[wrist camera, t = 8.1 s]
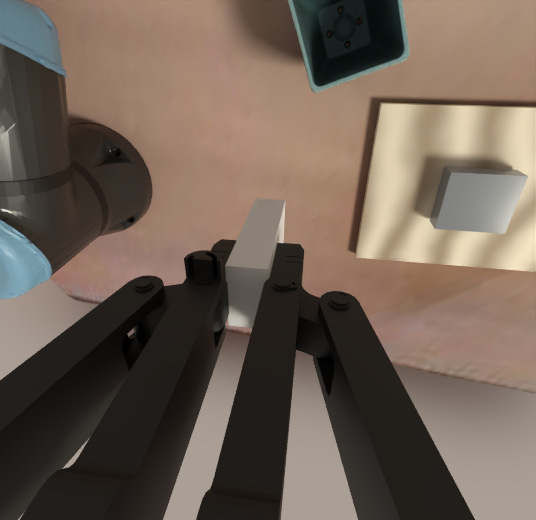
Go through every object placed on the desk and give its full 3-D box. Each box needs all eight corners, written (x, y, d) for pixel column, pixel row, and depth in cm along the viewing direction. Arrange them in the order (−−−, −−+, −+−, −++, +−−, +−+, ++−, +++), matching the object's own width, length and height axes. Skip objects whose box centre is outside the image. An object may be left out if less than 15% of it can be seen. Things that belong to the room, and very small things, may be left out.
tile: (434, 229, 42) (504, 233, 41) (451, 172, 38) (528, 176, 37) (428, 219, 44) (494, 223, 43) (443, 165, 41) (515, 168, 40)
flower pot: (314, 87, 39) (312, 95, 32) (291, -2, 36) (282, -18, 28) (393, 58, 37) (411, 58, 29) (378, -42, 33) (394, -71, 25)
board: (355, 253, 50) (355, 257, 49) (379, 102, 39) (381, 103, 38) (533, 267, 47) (538, 271, 46) (610, 108, 36) (618, 110, 35)
